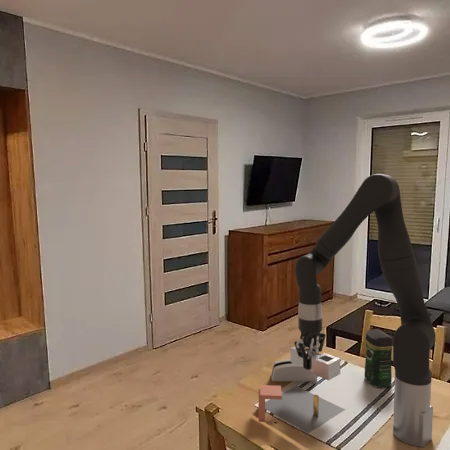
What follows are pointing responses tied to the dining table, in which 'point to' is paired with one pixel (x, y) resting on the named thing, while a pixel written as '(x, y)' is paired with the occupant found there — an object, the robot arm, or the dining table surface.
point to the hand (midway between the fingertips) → (310, 366)
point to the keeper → (267, 397)
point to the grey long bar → (319, 364)
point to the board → (302, 409)
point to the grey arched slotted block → (290, 372)
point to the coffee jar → (378, 358)
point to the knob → (316, 406)
